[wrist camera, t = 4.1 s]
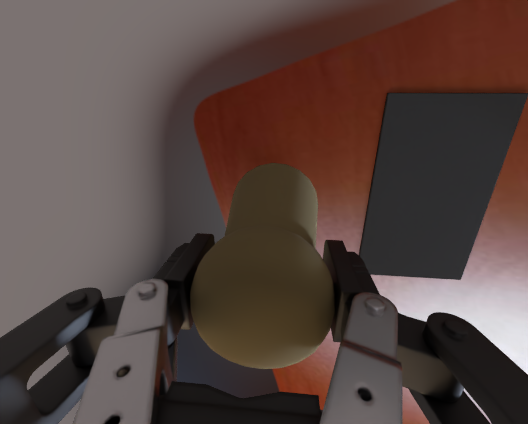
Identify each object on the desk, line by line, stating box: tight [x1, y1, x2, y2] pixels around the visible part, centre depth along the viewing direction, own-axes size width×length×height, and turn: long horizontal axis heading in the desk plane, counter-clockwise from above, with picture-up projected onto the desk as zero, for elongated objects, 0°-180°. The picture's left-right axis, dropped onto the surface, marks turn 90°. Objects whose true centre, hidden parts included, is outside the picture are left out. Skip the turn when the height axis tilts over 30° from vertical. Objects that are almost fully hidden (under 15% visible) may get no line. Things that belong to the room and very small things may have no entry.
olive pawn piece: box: [190, 163, 335, 369], centre depth 13 cm, size 6×6×11 cm
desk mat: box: [359, 93, 528, 280], centre depth 27 cm, size 20×12×1 cm, turn 0°
